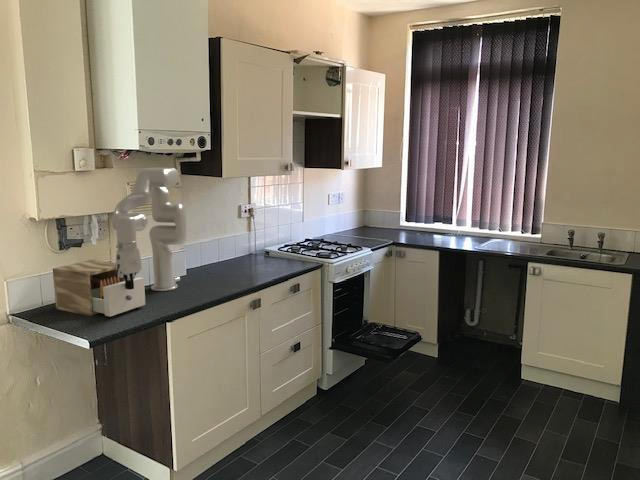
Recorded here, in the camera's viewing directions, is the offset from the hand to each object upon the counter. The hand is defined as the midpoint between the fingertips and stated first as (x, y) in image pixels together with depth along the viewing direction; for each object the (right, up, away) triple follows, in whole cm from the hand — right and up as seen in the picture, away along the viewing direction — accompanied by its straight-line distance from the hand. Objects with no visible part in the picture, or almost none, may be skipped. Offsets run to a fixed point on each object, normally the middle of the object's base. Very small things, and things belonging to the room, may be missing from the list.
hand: (129, 288), depth 226 cm
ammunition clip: (-11, -8, +7) cm, 15 cm away
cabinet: (-21, -9, +13) cm, 26 cm away
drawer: (-11, -8, +7) cm, 16 cm away
